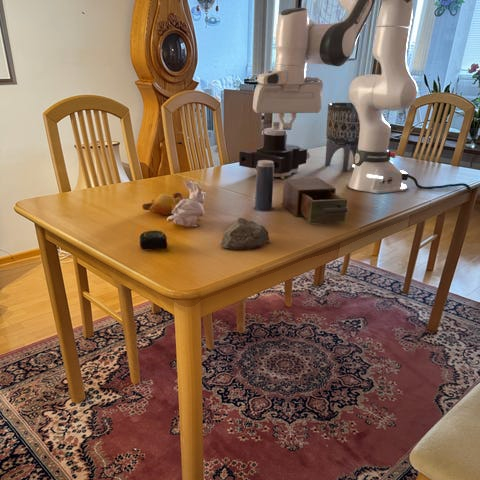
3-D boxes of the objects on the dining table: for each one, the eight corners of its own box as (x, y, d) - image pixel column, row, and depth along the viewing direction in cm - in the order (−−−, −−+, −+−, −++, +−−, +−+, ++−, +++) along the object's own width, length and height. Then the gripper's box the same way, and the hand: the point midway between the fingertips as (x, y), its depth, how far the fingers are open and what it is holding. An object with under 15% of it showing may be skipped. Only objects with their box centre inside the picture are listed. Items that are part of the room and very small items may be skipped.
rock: (254, 234, 128) (255, 211, 124) (276, 243, 122) (278, 220, 119) (217, 245, 120) (217, 221, 117) (238, 255, 115) (239, 231, 111)
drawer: (351, 227, 133) (355, 204, 130) (316, 229, 131) (318, 206, 127) (326, 209, 149) (329, 188, 145) (294, 210, 146) (296, 189, 143)
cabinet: (332, 214, 146) (336, 188, 142) (296, 216, 144) (298, 190, 139) (315, 202, 158) (318, 177, 154) (282, 204, 156) (283, 179, 151)
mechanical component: (240, 121, 182) (283, 115, 202) (239, 174, 193) (280, 164, 212) (283, 126, 170) (325, 120, 190) (280, 183, 181) (320, 172, 200)
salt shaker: (269, 205, 154) (271, 159, 146) (274, 210, 149) (276, 163, 142) (253, 206, 153) (254, 160, 145) (257, 211, 148) (259, 163, 140)
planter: (314, 167, 208) (320, 104, 195) (332, 161, 222) (339, 101, 209) (354, 174, 199) (364, 107, 185) (370, 166, 213) (380, 104, 199)
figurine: (213, 220, 138) (213, 178, 132) (181, 233, 128) (179, 188, 121) (193, 215, 142) (192, 174, 136) (160, 228, 132) (157, 183, 125)
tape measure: (140, 253, 115) (139, 239, 113) (141, 243, 121) (140, 230, 119) (167, 252, 116) (166, 238, 114) (167, 242, 122) (166, 229, 120)
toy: (137, 206, 138) (152, 192, 151) (146, 225, 141) (160, 210, 154) (170, 195, 135) (182, 182, 148) (178, 215, 138) (190, 200, 150)
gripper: (319, 76, 133) (314, 127, 140) (252, 76, 128) (250, 128, 135) (327, 77, 127) (322, 130, 134) (258, 77, 123) (256, 131, 130)
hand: (285, 129), depth 135 cm, fingers closed
